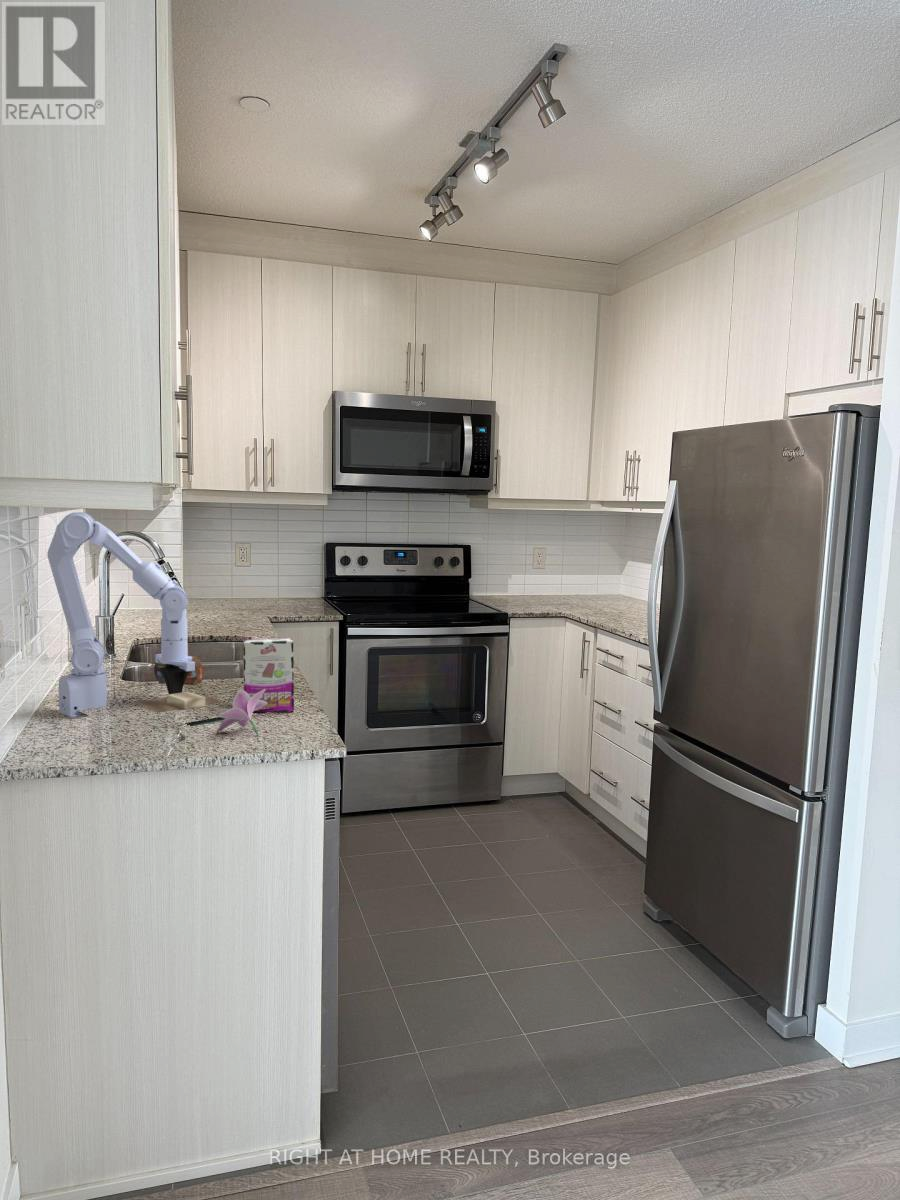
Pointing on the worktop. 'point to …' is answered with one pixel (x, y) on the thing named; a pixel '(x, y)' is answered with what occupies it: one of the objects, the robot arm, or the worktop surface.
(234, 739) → the worktop surface
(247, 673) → the candy bar box
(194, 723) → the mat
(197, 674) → the orange green food package
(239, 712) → the lily
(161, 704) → the board
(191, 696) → the cream flat block
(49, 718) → the worktop surface
